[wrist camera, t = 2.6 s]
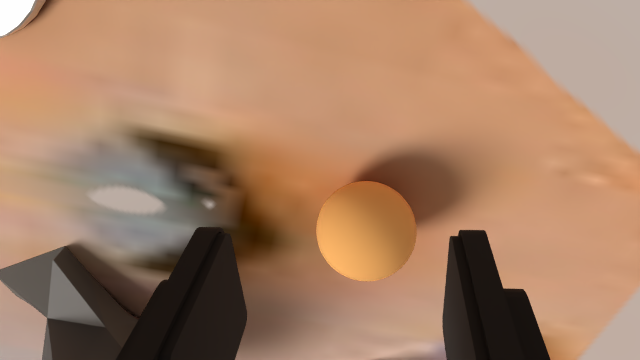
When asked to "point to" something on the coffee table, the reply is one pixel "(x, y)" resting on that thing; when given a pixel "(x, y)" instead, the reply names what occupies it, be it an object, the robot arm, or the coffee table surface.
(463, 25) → the coffee table surface
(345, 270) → the ball
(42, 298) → the dark grey faceted piece
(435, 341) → the coffee table surface
